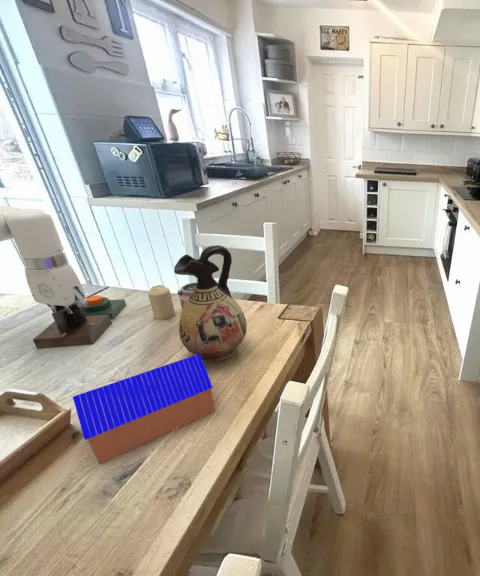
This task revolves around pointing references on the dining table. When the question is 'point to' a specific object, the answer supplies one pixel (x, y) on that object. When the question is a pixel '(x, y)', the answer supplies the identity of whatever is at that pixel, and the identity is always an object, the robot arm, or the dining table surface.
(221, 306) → the ceramic jug
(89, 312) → the button box
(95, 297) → the button
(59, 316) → the dark grey block
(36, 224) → the robot arm
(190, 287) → the pink lidded cup
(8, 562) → the dining table surface
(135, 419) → the house
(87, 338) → the panel
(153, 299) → the candle
